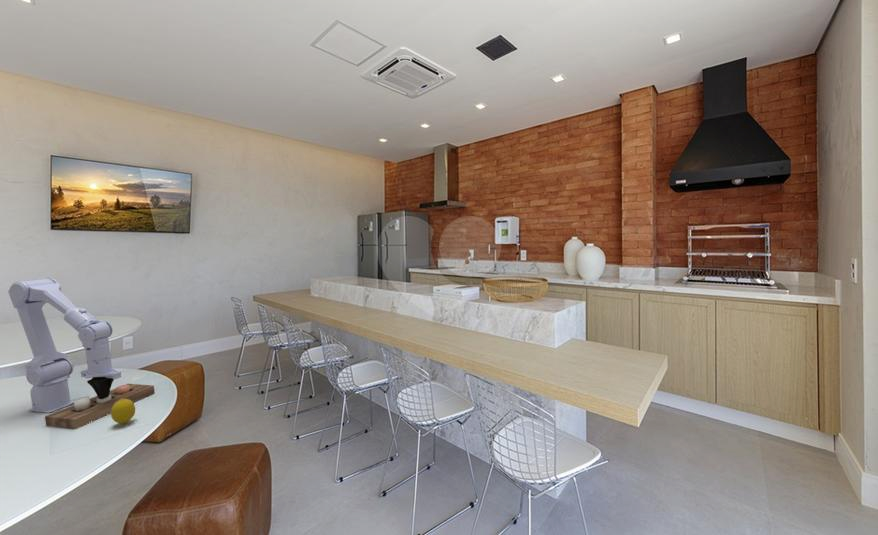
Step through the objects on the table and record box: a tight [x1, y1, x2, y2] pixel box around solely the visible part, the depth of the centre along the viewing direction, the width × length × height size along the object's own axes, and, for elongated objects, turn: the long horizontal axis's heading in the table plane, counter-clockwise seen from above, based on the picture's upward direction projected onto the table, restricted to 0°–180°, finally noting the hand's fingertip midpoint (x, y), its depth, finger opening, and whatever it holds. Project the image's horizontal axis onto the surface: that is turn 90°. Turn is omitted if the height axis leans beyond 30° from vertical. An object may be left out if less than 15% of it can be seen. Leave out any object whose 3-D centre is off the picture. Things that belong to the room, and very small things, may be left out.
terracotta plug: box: [115, 384, 130, 395], centre depth 125 cm, size 4×4×3 cm
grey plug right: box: [73, 396, 91, 411], centre depth 113 cm, size 4×4×3 cm
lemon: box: [110, 399, 136, 425], centre depth 108 cm, size 6×6×8 cm
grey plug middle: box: [96, 395, 111, 403], centre depth 119 cm, size 4×4×3 cm
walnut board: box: [44, 383, 156, 430], centre depth 119 cm, size 12×24×3 cm, turn 168°
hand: (103, 397), depth 119 cm, fingers closed, pressing on grey plug middle
